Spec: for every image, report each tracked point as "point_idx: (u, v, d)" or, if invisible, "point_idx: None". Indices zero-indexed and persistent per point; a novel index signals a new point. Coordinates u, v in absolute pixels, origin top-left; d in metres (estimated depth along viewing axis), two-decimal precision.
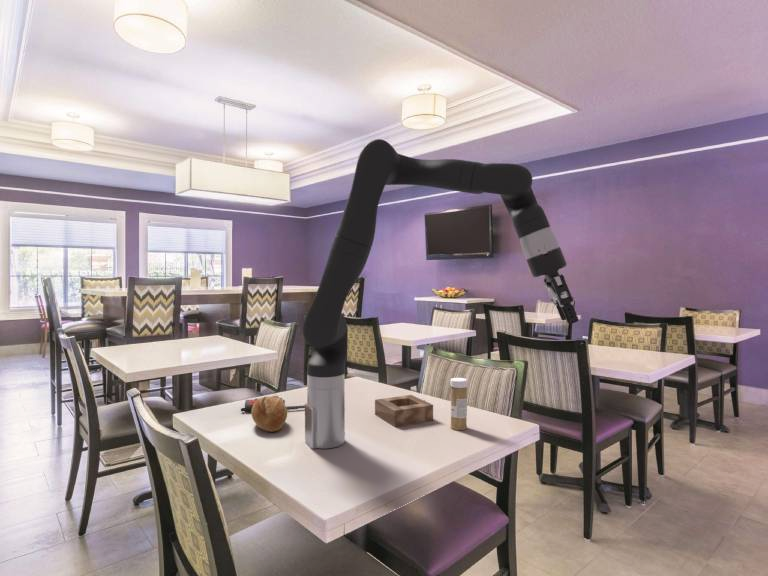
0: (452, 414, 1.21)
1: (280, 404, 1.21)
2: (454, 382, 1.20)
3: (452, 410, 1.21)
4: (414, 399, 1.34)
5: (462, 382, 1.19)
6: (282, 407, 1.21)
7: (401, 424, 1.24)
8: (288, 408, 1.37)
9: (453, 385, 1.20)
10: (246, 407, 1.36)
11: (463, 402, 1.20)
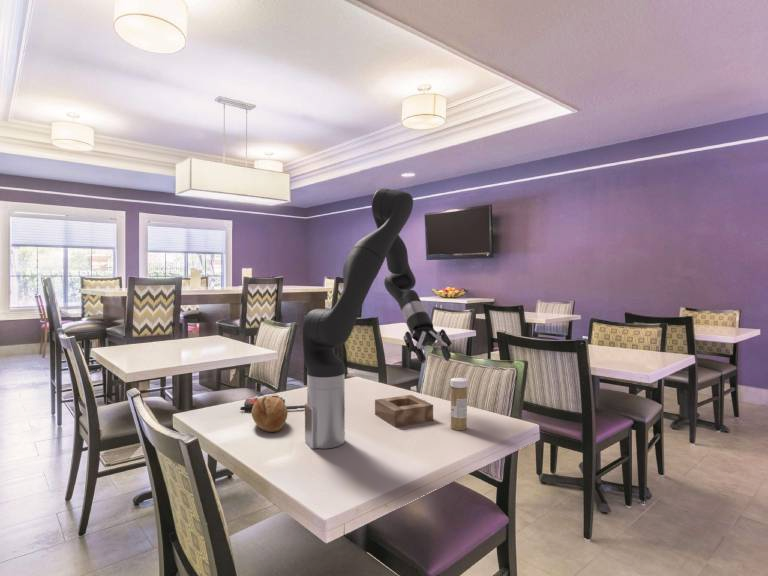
0: (452, 414, 1.21)
1: (280, 404, 1.21)
2: (454, 382, 1.20)
3: (452, 410, 1.21)
4: (414, 399, 1.34)
5: (462, 382, 1.19)
6: (282, 407, 1.21)
7: (401, 424, 1.24)
8: (287, 408, 1.38)
9: (453, 385, 1.20)
10: (245, 406, 1.37)
11: (463, 402, 1.20)
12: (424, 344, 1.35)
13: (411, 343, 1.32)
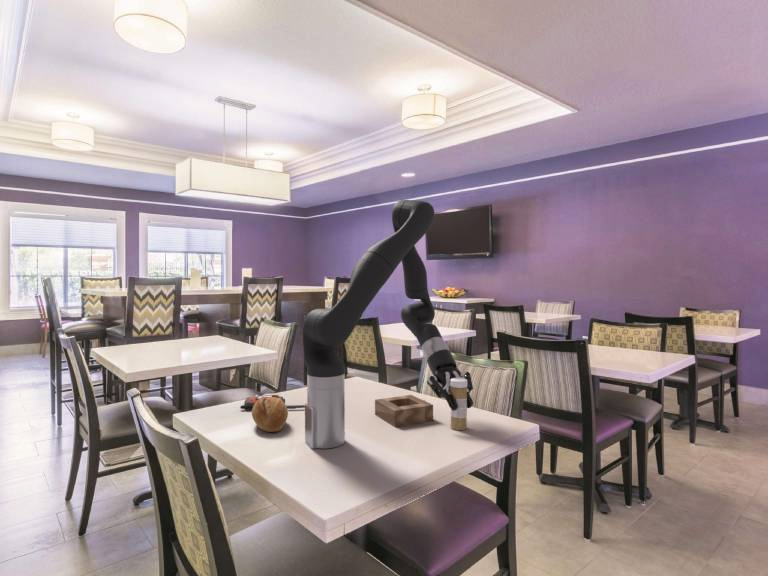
0: (452, 414, 1.21)
1: (280, 404, 1.21)
2: (454, 382, 1.20)
3: (452, 410, 1.21)
4: (414, 399, 1.34)
5: (462, 382, 1.19)
6: (282, 407, 1.21)
7: (401, 424, 1.24)
8: None
9: (453, 385, 1.20)
10: (245, 405, 1.39)
11: (463, 402, 1.20)
12: None
13: (440, 389, 1.20)
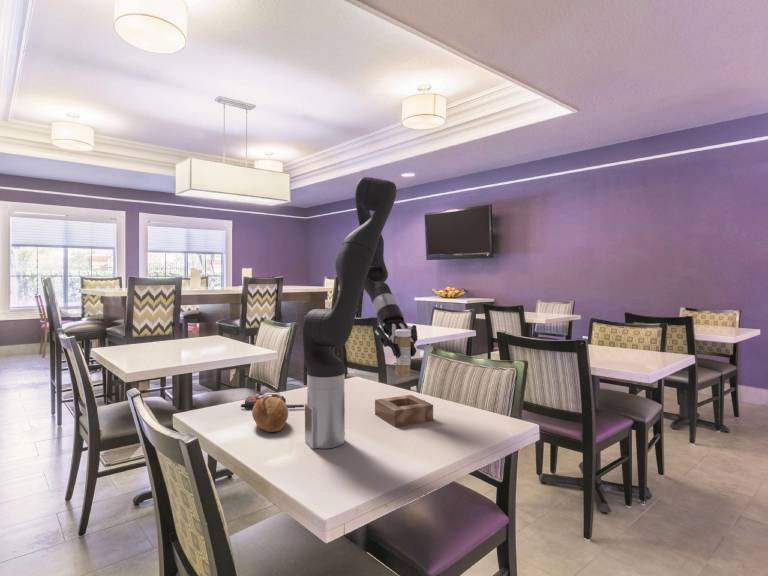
0: (396, 362, 1.30)
1: (281, 404, 1.21)
2: (398, 332, 1.29)
3: (396, 358, 1.30)
4: (414, 399, 1.34)
5: (405, 331, 1.29)
6: (283, 407, 1.21)
7: (401, 424, 1.24)
8: None
9: (397, 334, 1.29)
10: (246, 403, 1.40)
11: (406, 350, 1.29)
12: None
13: (386, 338, 1.30)
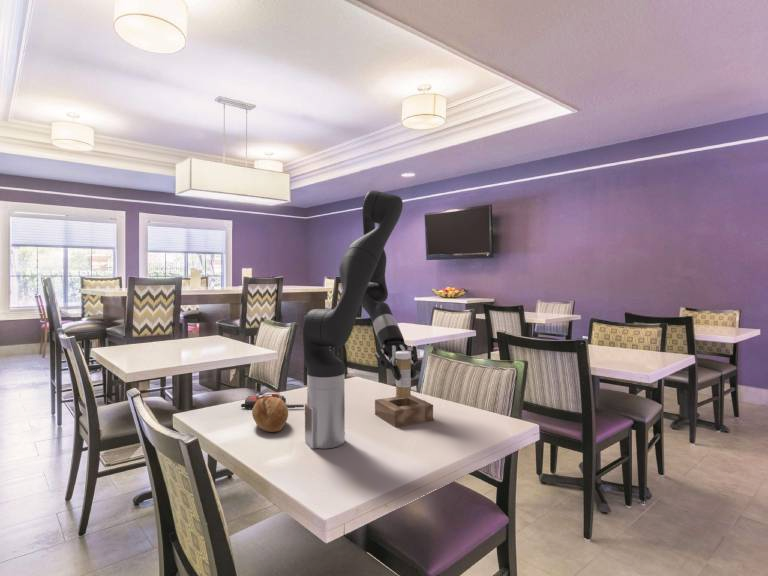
0: (397, 384, 1.30)
1: (281, 404, 1.21)
2: (398, 354, 1.29)
3: (397, 380, 1.30)
4: (414, 399, 1.34)
5: (405, 354, 1.29)
6: (283, 407, 1.20)
7: (401, 424, 1.24)
8: None
9: (397, 357, 1.29)
10: (246, 403, 1.40)
11: (406, 372, 1.29)
12: None
13: (386, 360, 1.30)
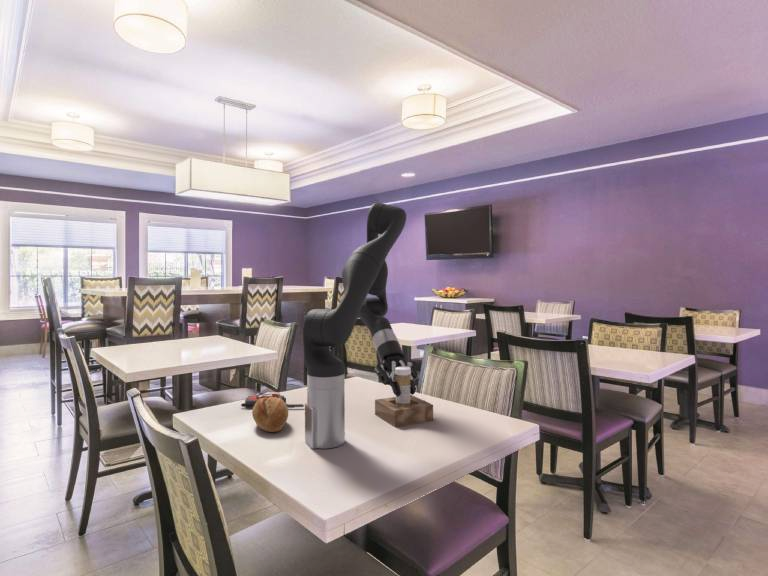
0: (396, 400, 1.30)
1: (281, 404, 1.21)
2: (398, 370, 1.29)
3: (396, 396, 1.30)
4: (414, 399, 1.34)
5: (405, 370, 1.29)
6: (283, 407, 1.20)
7: (401, 424, 1.24)
8: None
9: (397, 373, 1.29)
10: (246, 403, 1.41)
11: (406, 389, 1.29)
12: None
13: (386, 376, 1.30)
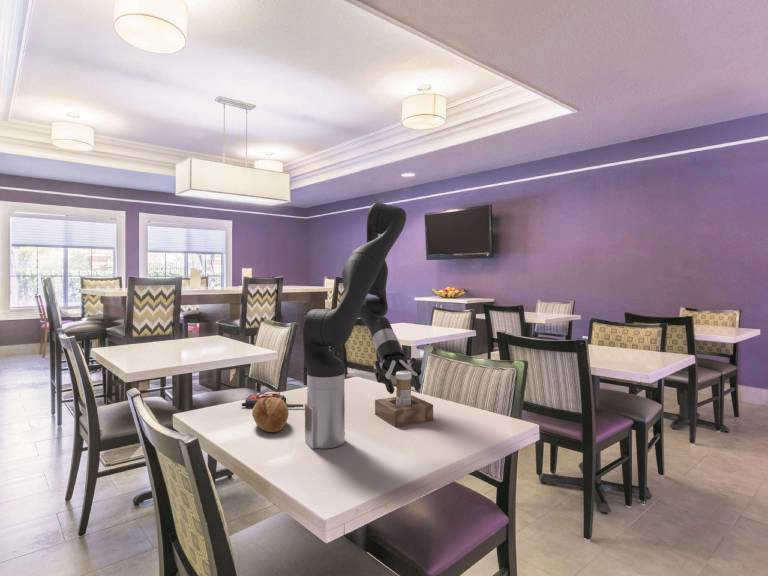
0: (397, 404, 1.30)
1: (281, 405, 1.21)
2: (398, 374, 1.29)
3: (397, 400, 1.30)
4: (414, 399, 1.34)
5: (405, 374, 1.29)
6: (283, 408, 1.20)
7: (401, 424, 1.24)
8: None
9: (397, 377, 1.30)
10: (246, 402, 1.41)
11: (406, 393, 1.29)
12: (394, 374, 1.33)
13: (380, 373, 1.30)
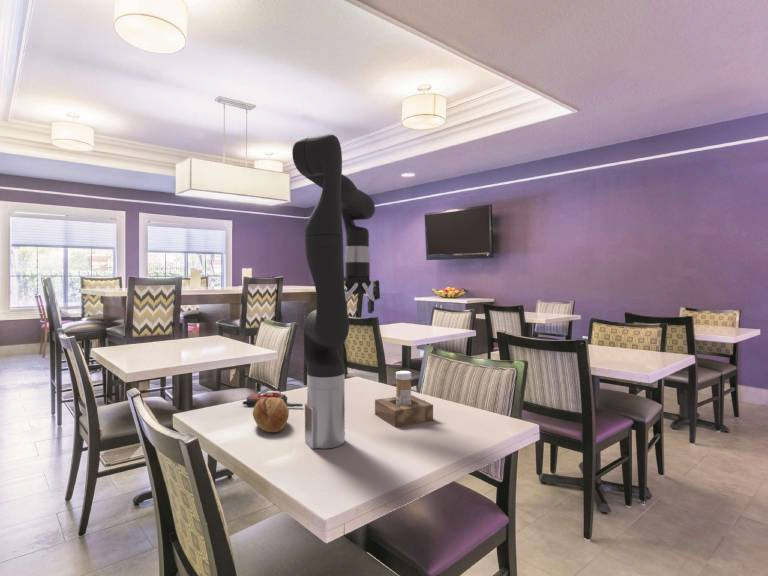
0: (397, 404, 1.30)
1: (281, 405, 1.21)
2: (398, 374, 1.29)
3: (397, 400, 1.30)
4: (414, 399, 1.34)
5: (405, 374, 1.29)
6: (283, 408, 1.20)
7: (401, 424, 1.24)
8: None
9: (397, 377, 1.30)
10: (247, 401, 1.43)
11: (406, 393, 1.29)
12: (353, 293, 1.38)
13: None
